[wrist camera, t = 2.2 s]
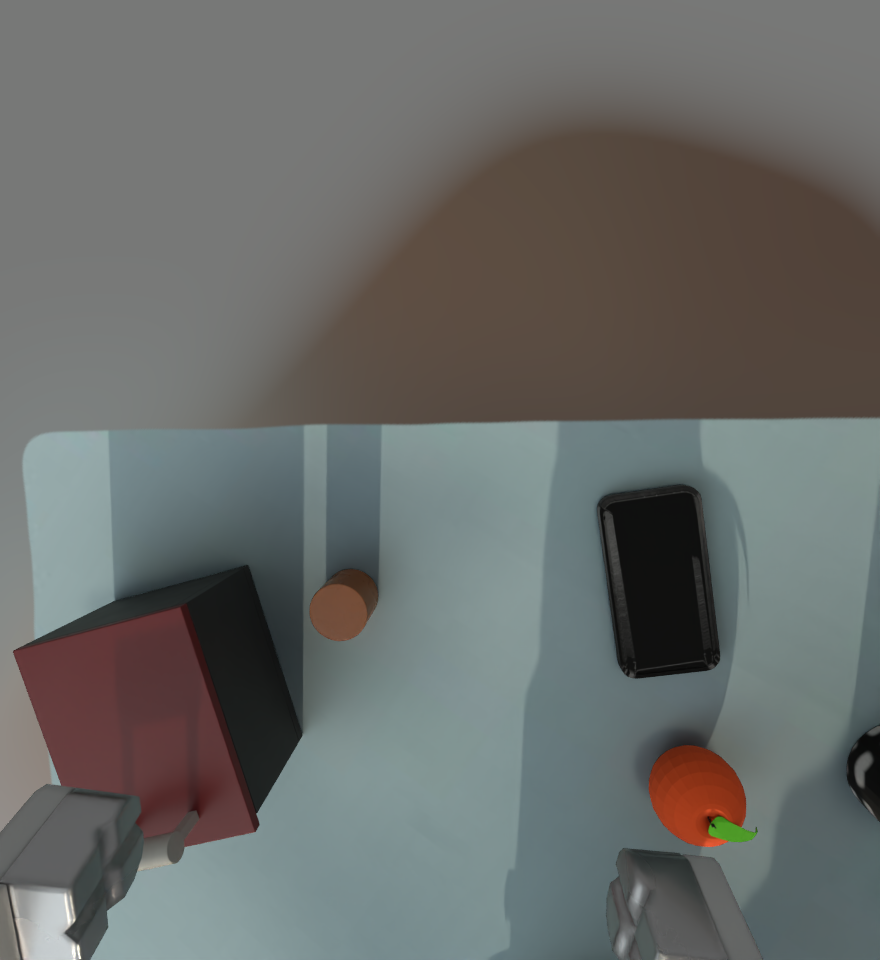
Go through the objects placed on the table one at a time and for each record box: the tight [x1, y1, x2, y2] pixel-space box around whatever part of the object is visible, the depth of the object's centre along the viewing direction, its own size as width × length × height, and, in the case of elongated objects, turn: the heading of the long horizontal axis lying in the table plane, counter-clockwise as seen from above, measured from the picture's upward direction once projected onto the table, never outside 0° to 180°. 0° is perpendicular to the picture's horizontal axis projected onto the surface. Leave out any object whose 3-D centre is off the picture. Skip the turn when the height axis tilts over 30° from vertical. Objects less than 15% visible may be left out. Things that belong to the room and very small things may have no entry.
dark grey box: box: [24, 565, 302, 813], centre depth 45 cm, size 16×13×10 cm
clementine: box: [649, 745, 758, 847], centre depth 44 cm, size 8×7×7 cm
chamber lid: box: [13, 603, 259, 871], centre depth 38 cm, size 17×13×5 cm
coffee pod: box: [310, 569, 378, 641], centre depth 46 cm, size 5×5×4 cm
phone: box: [597, 485, 720, 679], centre depth 45 cm, size 8×1×15 cm
